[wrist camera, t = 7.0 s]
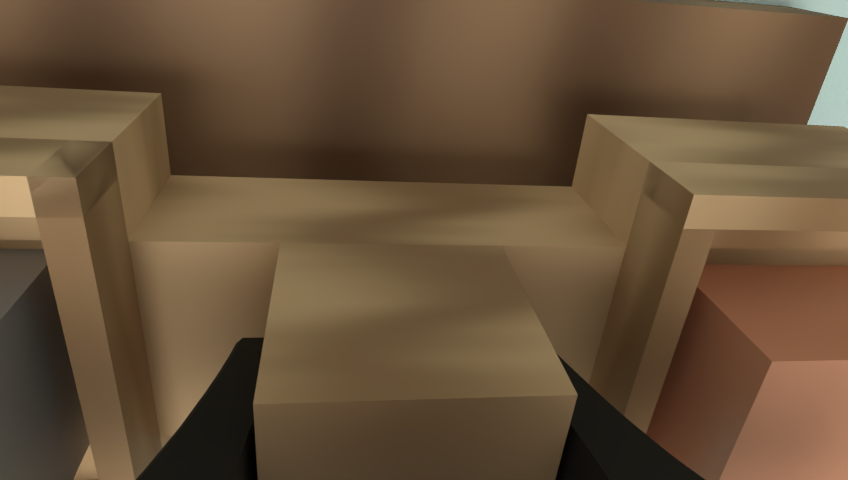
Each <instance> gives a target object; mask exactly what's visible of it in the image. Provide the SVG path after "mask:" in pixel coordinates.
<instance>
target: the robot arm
mask: <svg viewBox="0 0 848 480" xmlns="http://www.w3.org/2000/svg"><path fill="white" fill-rule="evenodd" d="M263 342H264V337H262V338H242V339H241V340H239V341H238V342H237V343H236V344H235V346H234V348H233V350H232V352H231V353H230V355H229V357H228V358H227V360H226V362H225V363H224V365H223V366H222V368H221V370H220V371H219V373H218V374H217V376H216V377H215V379H214V380H213V382H212V383H211V385H210V386H209V388H208V389H207V390H206V392H205V393H204V395H203V396H202V397H201V399H200V400H199V401H198V403H197V404H196V406H195V407H194V408H193V410H192V411H191V412H190V414H189V415H188V416H187V418H186V419H185V421H184V422H183V423H182V425H181V426H180V427H179V428H178V430H177V431H176V432H175V433H174V435H173V436H172V437H171V438H170V439H169V441H168V442H167V443H166V444H165V446H164V447H163V448H162V449H161V450H160V452H159V453H158V454H157V455H156V456H155V458H154V459H153V460H152V461H151V462H150V464H149V465H148V466H147V467H146V468H145V470H144V471H143V472H142V473H141V474H140V475H139V476H138V477H137V479H136V480H258V476H257V460H256V444H255V428H254V412H253V401H254V395H255V389H256V383H257V377H258V372H259V366H260V360H261V354H262V348H263ZM556 354H557V353H556ZM557 356H558V358H559V359H560V361H561V363H562V365H563V367H564V369H565V371H566V373H567V375H568V377H569V379H570V381H571V383H572V385H573V387H574V388H575V390H576V392H577V394H578V396H577V400H576V403H575V407H574V411H573V415H572V418H571V422H570V426H569V430H568V434H567V437H566V441H565V445H564V449H563V452H562V456H561V460H560V464H559V467H558V471H557V475H556V479H555V480H705V479H704V478H702V477H701V476H700V475H698V474H697V473H695V472H694V471H693V470H691V469H690V468H688V467H687V466H686V465H684V464H683V463H682V462H680V461H679V460H678V459H676V458H675V457H674V456H672V455H671V454H670V453H668V452H667V451H666V450H665V449H663V448H662V447H661V446H660V445H659V444H657V443H656V442H655V441H654V440H652V439H651V438H650V437H649V436H647V435H646V434H645V433H644V432H643V431H641V430H640V429H639V428H638V427H636V426H635V425H634V424H633V423H632V422H631V421H629V420H628V419H627V418H626V417H625V416H624V415H622V414H621V413H620V412H619V411H618V410H617V409H616V408H614V407H613V406H612V405H611V404H610V403H609V402H608V401H607V400H606V399H604V398H603V397H602V396H601V395H600V394H599V393H598V392H597V391H596V390H595V389H594V388H592V387H591V386H590V385H589V384H588V383H587V382H586V381H585V380H584V379H583V378H582V377H581V376H580V375H579V374H578V373H576V372H575V371H574V370H573V369H572V368H571V367H570V366H569V365H568V364H567V363H566V362H565V361H564V360H563V359H562V358H561V357H560V356H559V355H558V354H557Z"/></svg>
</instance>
